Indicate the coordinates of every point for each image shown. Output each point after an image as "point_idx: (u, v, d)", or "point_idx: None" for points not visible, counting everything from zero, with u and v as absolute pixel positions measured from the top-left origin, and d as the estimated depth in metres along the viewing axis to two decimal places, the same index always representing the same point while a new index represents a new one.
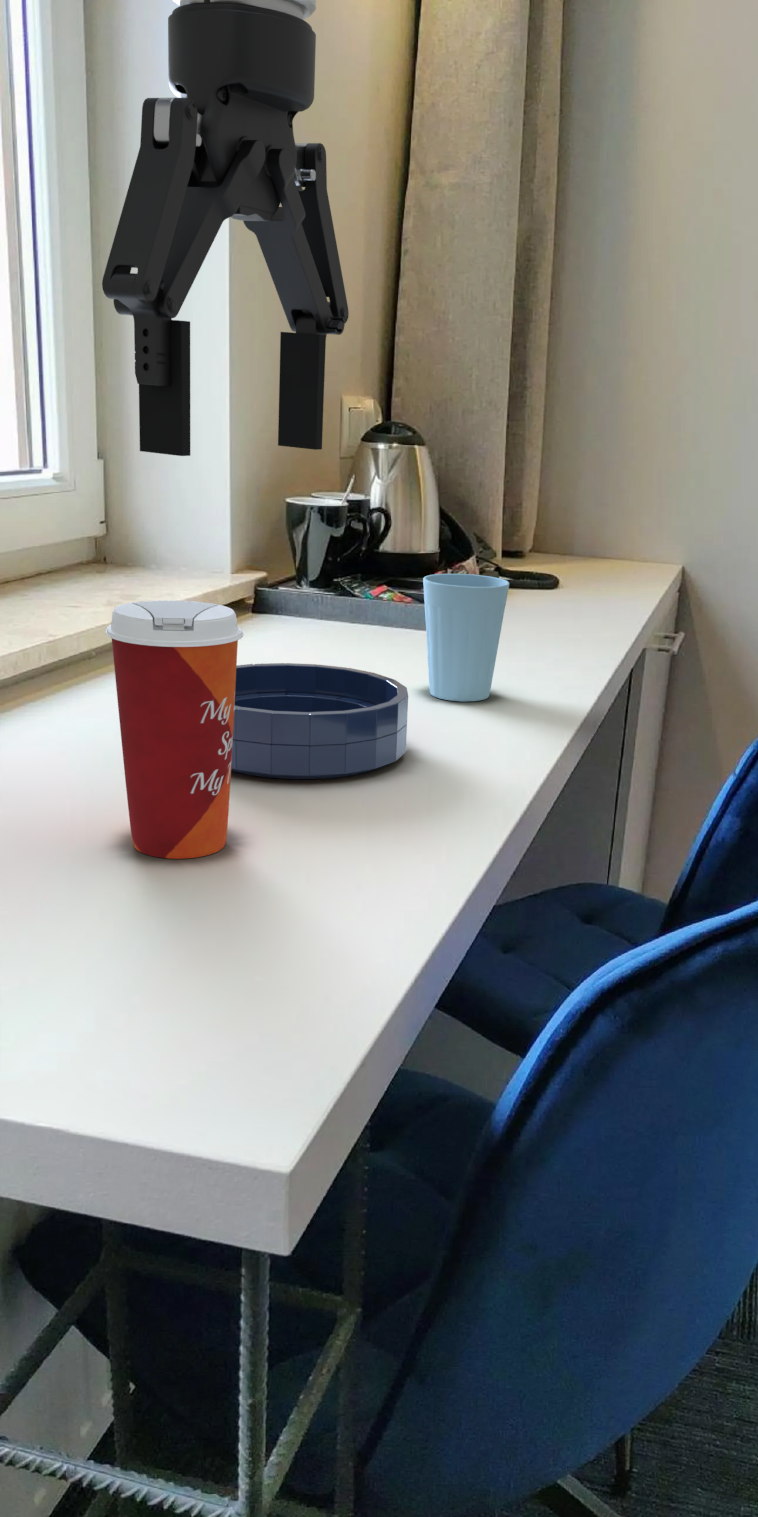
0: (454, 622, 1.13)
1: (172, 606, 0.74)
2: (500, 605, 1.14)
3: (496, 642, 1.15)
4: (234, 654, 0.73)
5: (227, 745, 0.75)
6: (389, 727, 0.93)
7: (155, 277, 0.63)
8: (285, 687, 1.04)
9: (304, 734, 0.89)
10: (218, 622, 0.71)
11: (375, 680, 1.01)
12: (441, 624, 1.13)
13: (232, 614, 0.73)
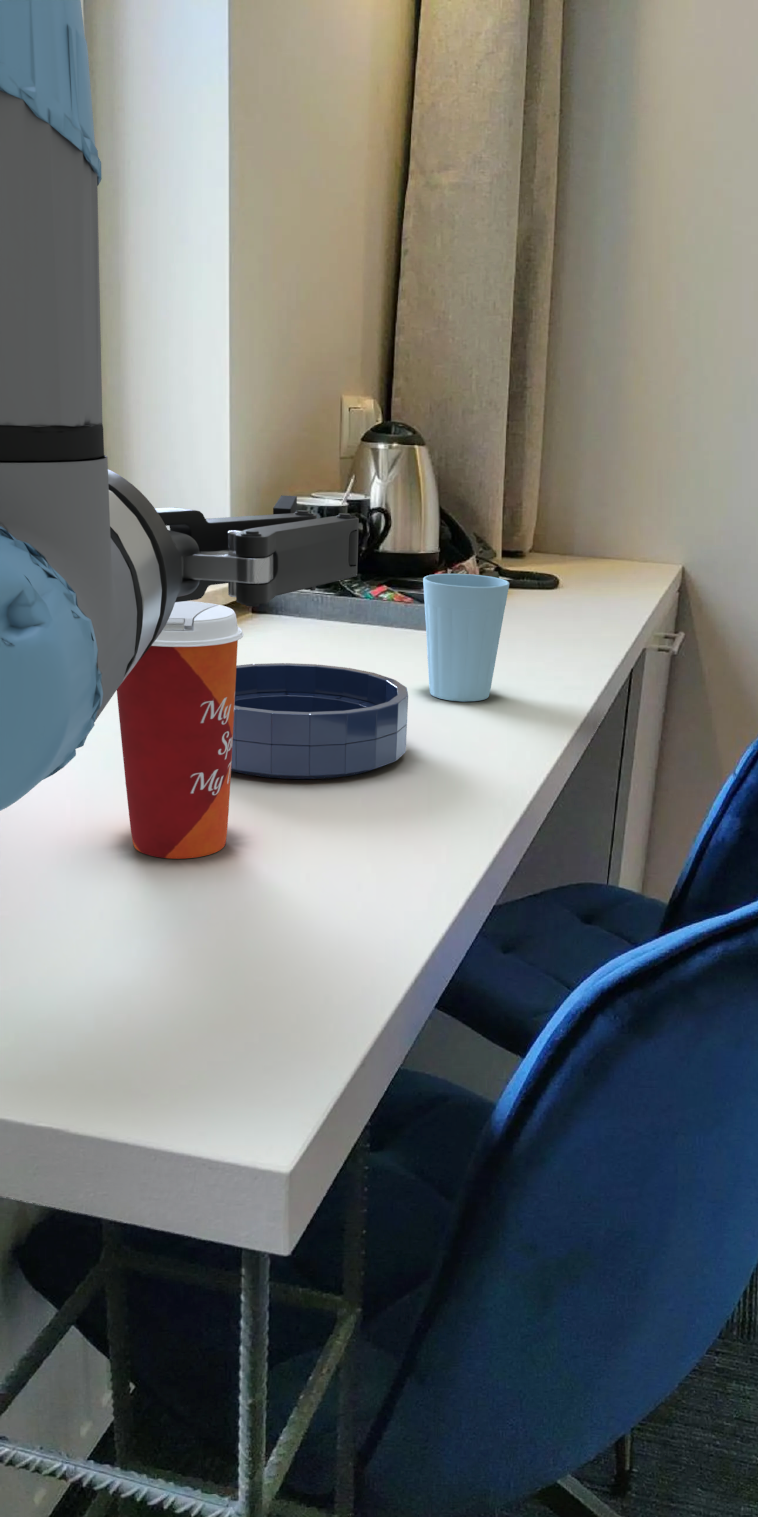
0: (454, 622, 1.13)
1: None
2: (500, 605, 1.14)
3: (496, 642, 1.15)
4: (234, 654, 0.73)
5: (227, 745, 0.75)
6: (389, 727, 0.93)
7: None
8: (285, 687, 1.04)
9: (304, 734, 0.89)
10: (218, 622, 0.71)
11: (375, 680, 1.01)
12: (441, 624, 1.13)
13: (232, 614, 0.73)
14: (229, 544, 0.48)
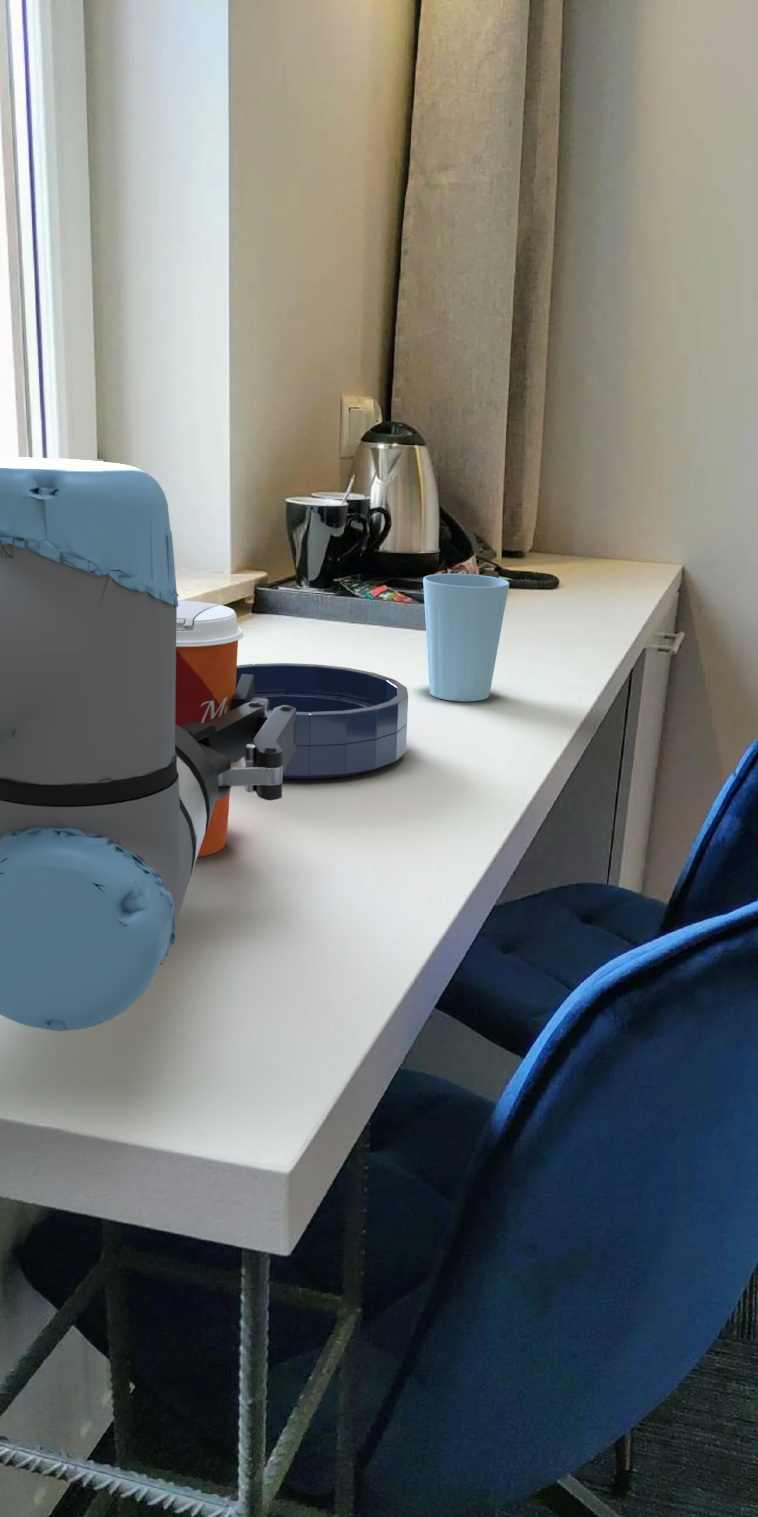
0: (454, 622, 1.13)
1: None
2: (500, 605, 1.14)
3: (496, 642, 1.15)
4: (234, 654, 0.73)
5: None
6: (389, 727, 0.93)
7: None
8: (285, 687, 1.04)
9: (304, 734, 0.89)
10: (218, 622, 0.71)
11: (375, 680, 1.01)
12: (441, 624, 1.13)
13: (232, 614, 0.73)
14: (247, 755, 0.65)
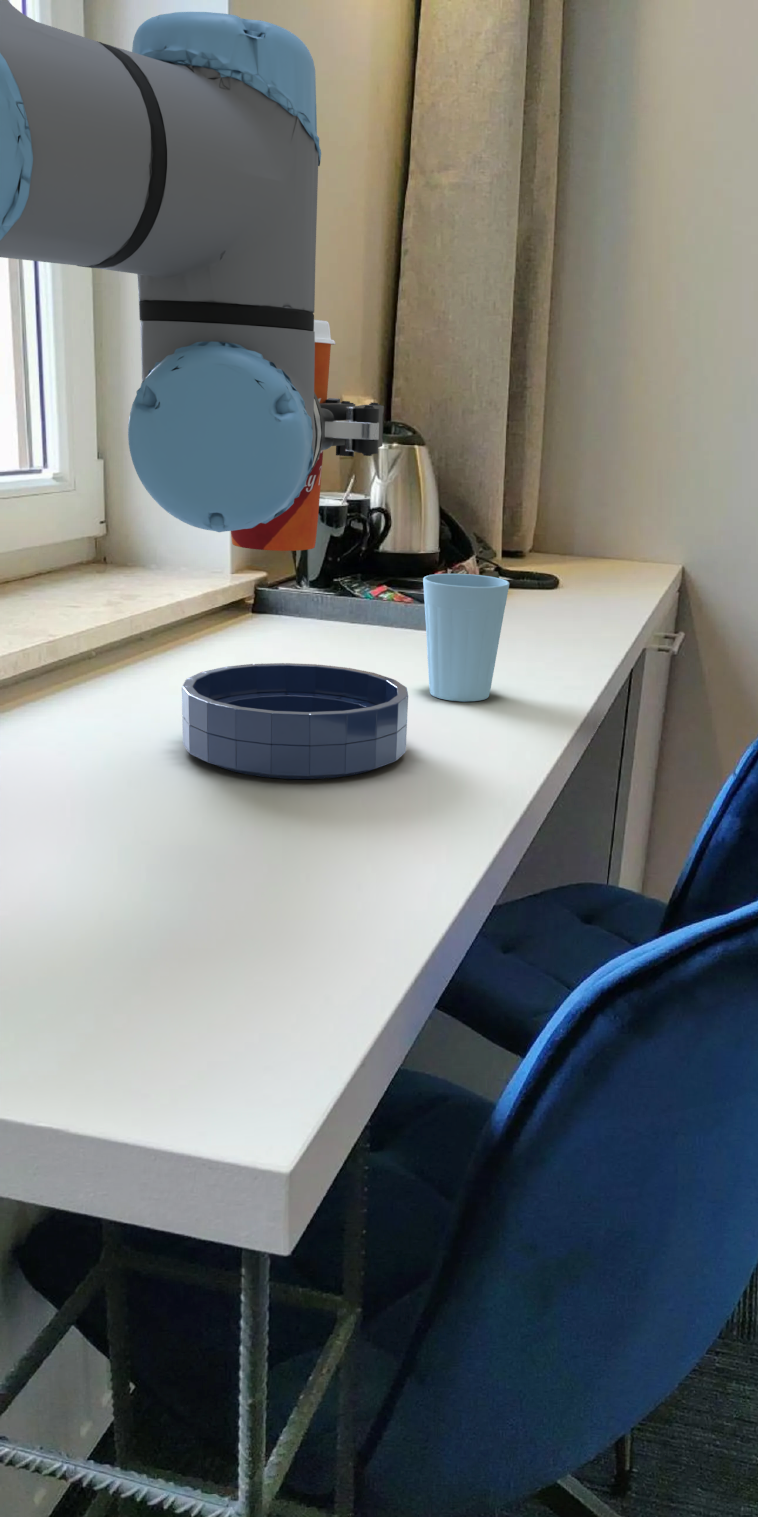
0: (454, 622, 1.13)
1: None
2: (500, 605, 1.14)
3: (496, 642, 1.15)
4: (328, 359, 0.82)
5: None
6: (389, 727, 0.93)
7: None
8: (285, 687, 1.04)
9: (304, 734, 0.89)
10: (315, 322, 0.80)
11: (375, 680, 1.01)
12: (441, 624, 1.13)
13: (327, 321, 0.81)
14: (348, 415, 0.73)
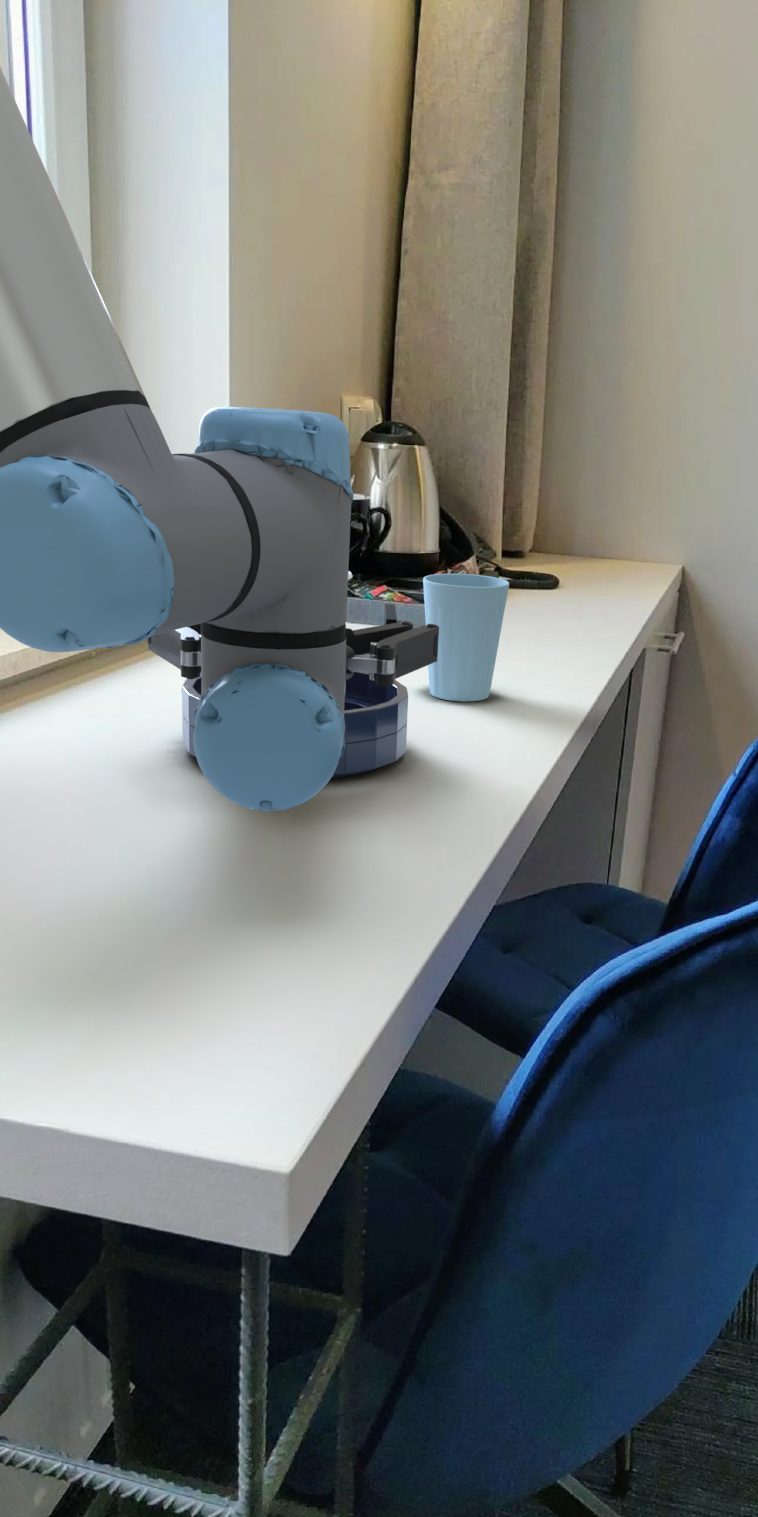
0: (454, 622, 1.13)
1: None
2: (500, 605, 1.14)
3: (496, 642, 1.15)
4: None
5: None
6: (389, 727, 0.93)
7: None
8: None
9: None
10: None
11: None
12: (441, 624, 1.13)
13: None
14: (371, 650, 0.84)
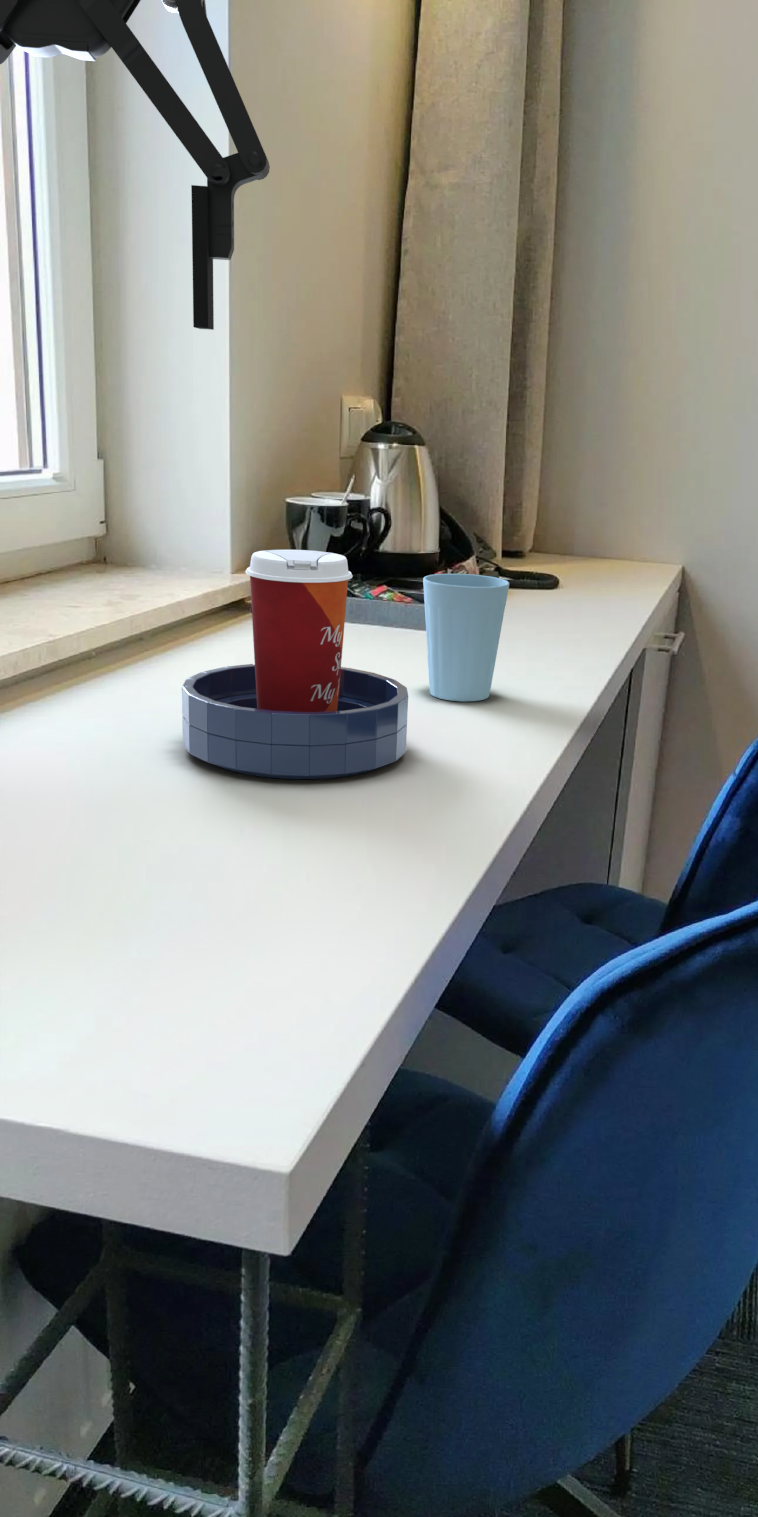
0: (454, 622, 1.13)
1: (296, 553, 0.94)
2: (500, 605, 1.14)
3: (496, 642, 1.15)
4: (346, 590, 0.93)
5: (338, 663, 0.95)
6: (389, 727, 0.93)
7: None
8: None
9: (304, 734, 0.89)
10: (335, 564, 0.91)
11: (375, 680, 1.01)
12: (441, 624, 1.13)
13: (345, 559, 0.92)
14: None
